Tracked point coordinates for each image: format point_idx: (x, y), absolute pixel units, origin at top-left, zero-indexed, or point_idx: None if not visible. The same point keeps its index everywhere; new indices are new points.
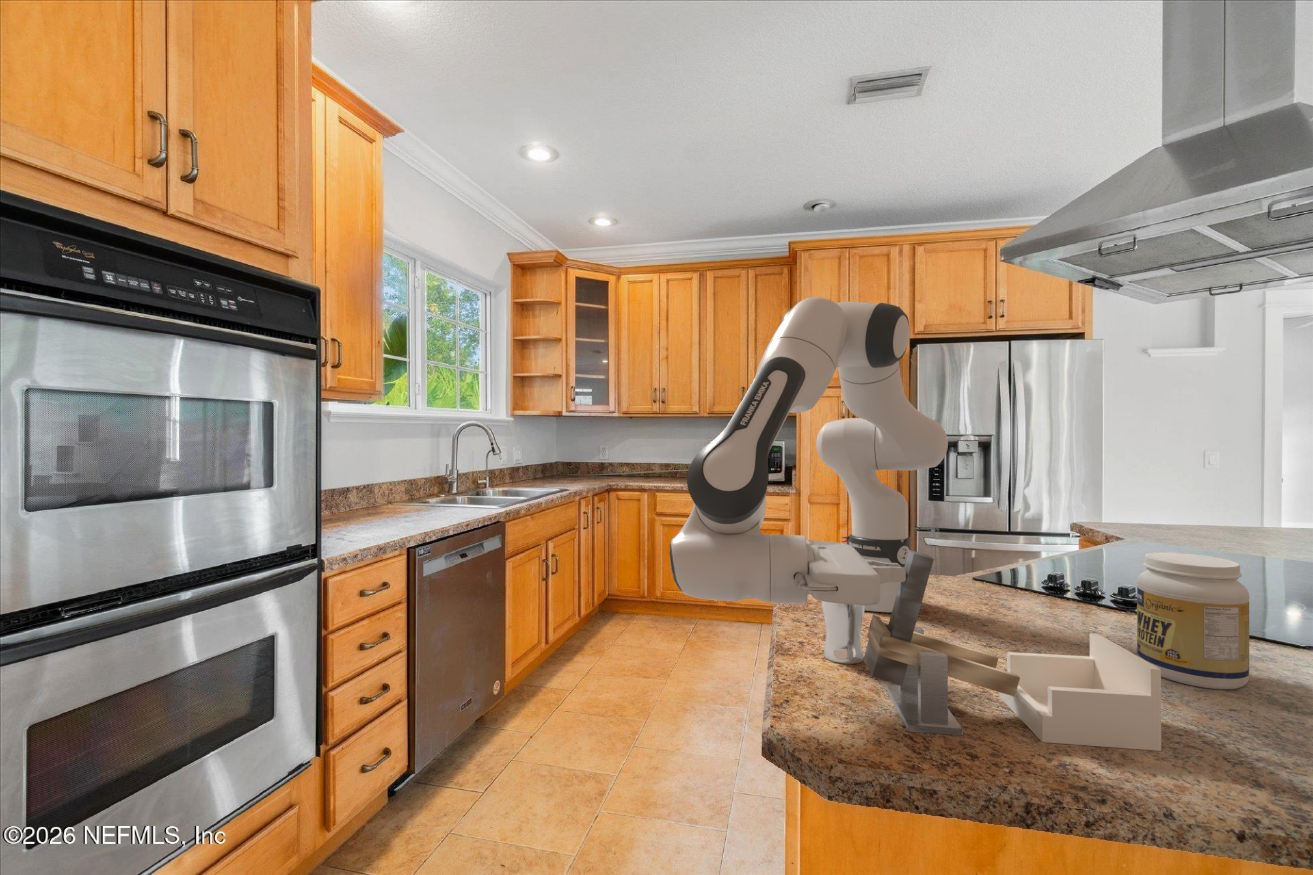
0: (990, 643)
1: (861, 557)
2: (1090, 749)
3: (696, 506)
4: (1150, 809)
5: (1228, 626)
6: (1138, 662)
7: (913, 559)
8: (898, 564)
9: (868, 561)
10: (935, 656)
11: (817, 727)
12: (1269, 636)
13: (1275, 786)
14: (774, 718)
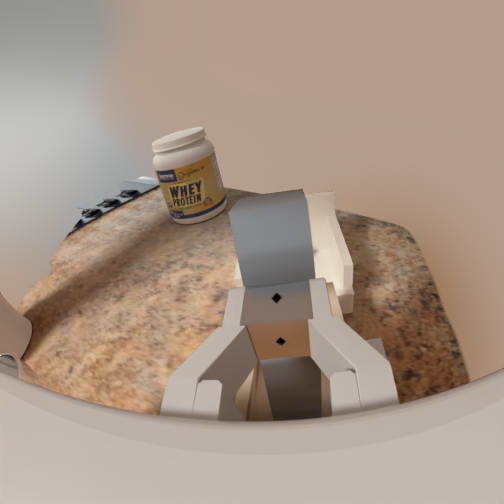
0: (115, 294)
1: (257, 434)
2: (352, 284)
3: None
4: (429, 274)
5: (217, 165)
6: (318, 196)
7: (308, 225)
8: (251, 287)
9: (215, 397)
10: (385, 355)
11: None
12: (156, 184)
13: (361, 221)
14: None
